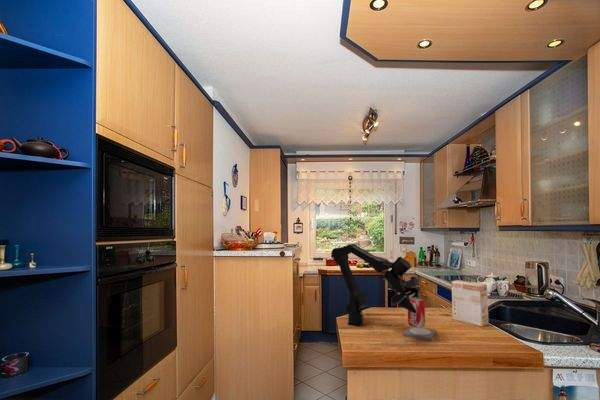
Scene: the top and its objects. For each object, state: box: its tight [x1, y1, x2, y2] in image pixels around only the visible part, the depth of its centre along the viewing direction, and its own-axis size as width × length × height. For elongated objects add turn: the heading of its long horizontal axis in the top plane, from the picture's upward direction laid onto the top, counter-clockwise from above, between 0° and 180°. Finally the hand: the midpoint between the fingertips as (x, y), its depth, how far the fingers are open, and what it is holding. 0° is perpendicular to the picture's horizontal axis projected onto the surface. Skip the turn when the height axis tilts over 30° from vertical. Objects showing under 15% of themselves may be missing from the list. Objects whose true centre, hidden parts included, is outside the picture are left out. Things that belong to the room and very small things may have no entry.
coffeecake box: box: [450, 279, 490, 327], centre depth 169 cm, size 15×7×20 cm, turn 34°
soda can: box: [407, 297, 426, 328], centre depth 147 cm, size 7×7×12 cm
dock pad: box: [402, 325, 437, 341], centre depth 152 cm, size 12×12×1 cm
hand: (419, 311), depth 146 cm, fingers closed on soda can, 7 cm apart
